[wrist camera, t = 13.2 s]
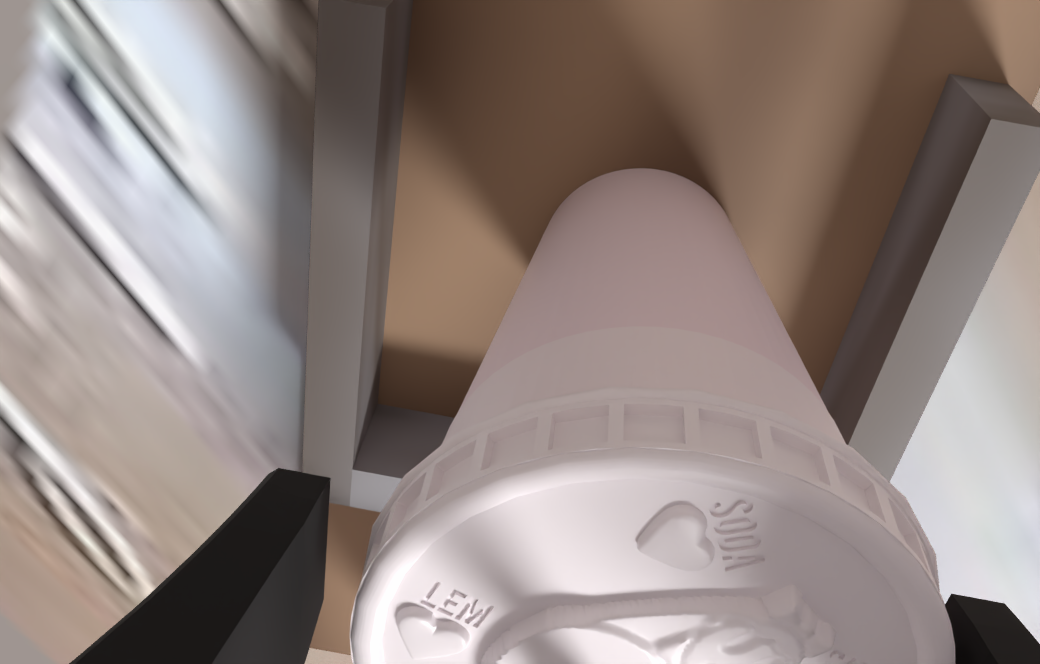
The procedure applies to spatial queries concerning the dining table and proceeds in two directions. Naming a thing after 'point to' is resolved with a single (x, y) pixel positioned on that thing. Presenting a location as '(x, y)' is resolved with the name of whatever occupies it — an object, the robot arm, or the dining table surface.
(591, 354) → the smoothie
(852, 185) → the open-sided grey tray
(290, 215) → the dining table surface
